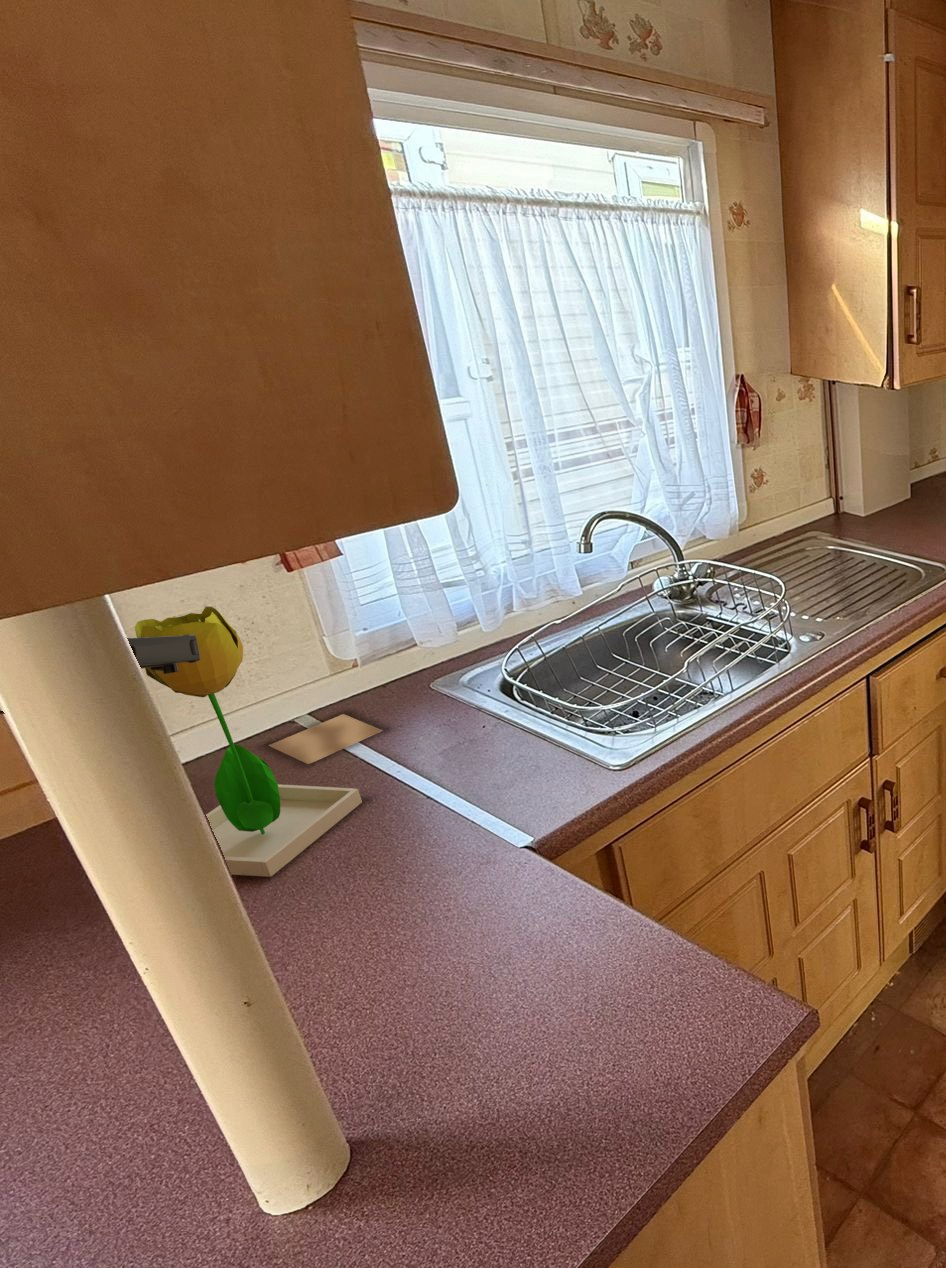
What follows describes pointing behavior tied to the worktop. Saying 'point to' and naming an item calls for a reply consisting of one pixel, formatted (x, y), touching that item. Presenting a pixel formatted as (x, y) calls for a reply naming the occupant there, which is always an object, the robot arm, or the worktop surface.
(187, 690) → the flower
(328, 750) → the cork mat
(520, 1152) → the worktop surface
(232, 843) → the baking tray
